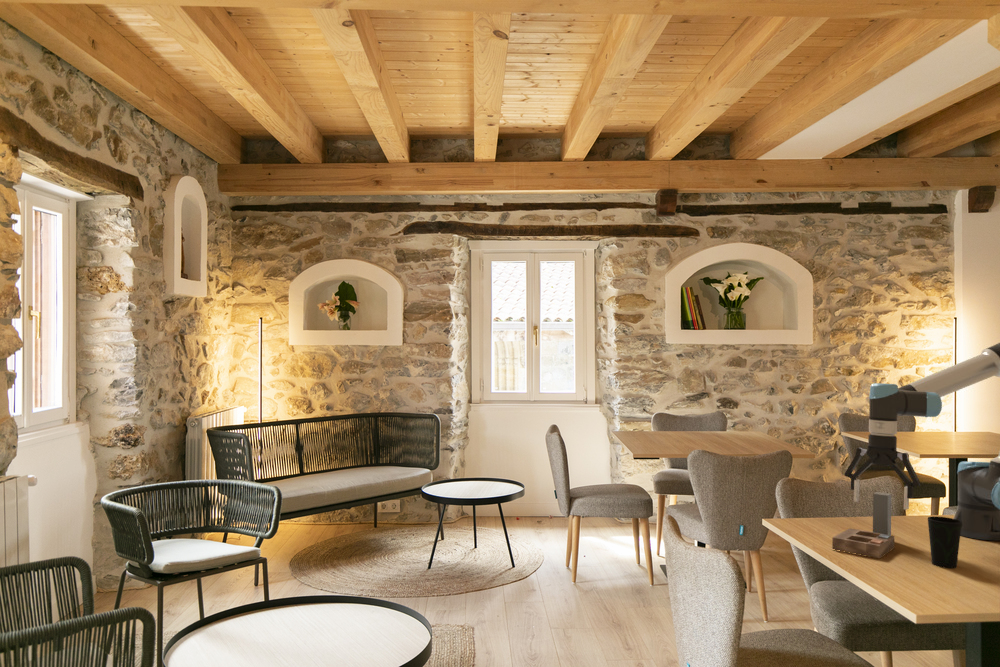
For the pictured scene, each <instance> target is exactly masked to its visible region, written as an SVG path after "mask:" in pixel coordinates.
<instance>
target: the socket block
mask: <svg viewBox="0 0 1000 667" xmlns="http://www.w3.org/2000/svg"><path fill="white" fill-rule="evenodd" d="M831 545H832V546H831V548H832V549H835V550H840V551H839V552H841V551H845V552H844V553H846V552H850V553H849V554H851V553H856V554H861V555H866V556H870V557H869V558H871V557H875V558H874V559H877V558H880V557H881V558H883V557H884V556H885V555H887V554H888V553H890V552H891V551H892V550H894V549H895V535H892V534H891V535H886V534H880V533H875V532H873V531H868V530H863V529H858V528H857V529H856V528H851V527H850V528H848V529H846V530H844V531H842V532H840V533H838V534H836V535H835V536H833V537H832V544H831ZM893 548H894V549H893ZM832 549H831V550H832ZM891 549H892V550H891ZM835 550H834V551H835ZM890 550H891V551H890ZM889 551H890V552H889ZM887 552H888V553H887ZM886 553H887V554H886ZM856 554H855V555H856ZM884 554H885V555H884ZM861 555H860V556H861ZM883 555H884V556H883ZM866 556H865V557H866ZM882 556H883V557H882ZM881 558H880V559H881Z"/></svg>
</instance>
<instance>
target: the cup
mask: <svg viewBox="0 0 1000 667" xmlns="http://www.w3.org/2000/svg"><path fill="white" fill-rule="evenodd" d="M961 524H962V522H961V521H959V520H957V519H954V518H952V517H947V516H929V517H927V527H928V535H929V536H928V537H929V546H930V556H931V557H930V558H931V564H932V565H934V566H935V565H936V567H938V566H939V568H943V567H945V568H944V569H956V567H958V566H957V565H958V559H959V558H958V557H959V550H960V540H961V535H960V533H961Z"/></svg>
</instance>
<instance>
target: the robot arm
mask: <svg viewBox="0 0 1000 667" xmlns="http://www.w3.org/2000/svg"><path fill="white" fill-rule="evenodd" d="M980 353H981V354H979V355H976V356H973V357H971V358H969V359H966V360H964V361H961V362H959V363H956V364H955V365H951V366H948V367H947V368H944V369H941V370H940V371H937V372H935V373H931V374H929V375H927V376H925V377H923V378H920V379H917V380H915V381H912V382H909V383H908V384H905V385H903V386H900V387H899V385H897V383H881V382H880V383H879V382H876V383H875V382H874V383H871V384H870V389H869V395H868V401H869V402H868V403H869V405H868V406H869V410H868V411H869V412H868V413H869V414H868V416H869V418H868V432H869V433H870V434H868V444H867V449H866V448H863V447H857V448H856V452H855V456H854V457H853V459H852V461H851V462H850V463H849V465H848V467H847V469H846V471H845V472H844V476H845V477H847V478H849V479H850V489H851V491H852V490H853V502H854V503H857V502H859V501H860V481H861V480H860V479H858V478H859V477H860V476H861V475H862V474H863V473H864V472H865V471H866V470H867V469H868V468H870V467H871V466H872V465H873V464H874V465H875V466H883V467H888V466H890V468H891V469H893V471H894V472H895V473H896V474H897V475H898V477H899V478H900V479H901V481H902V482H903V483H904V484H905V486H904V487H903V510H906V511H907V510H909V509H910V508H909V507H910V499H913V498H914V487H919V486H920V485H921V481H920V479H919V477H918V475H917V473H916V471H915V470H914V466H912V463H911V462H910V456H909V453H908V452H904V453H903V452H902V453H901V452H899V453H898V451H897V446H898V445H897V444H898V442H897V441H898V439H897V436H896V435H897V434H898V416H905V417H906V416H907V417H921V418H922V417H923V418H934V417H935V418H936V417H938V416H939V415H940V414H941V411H942V409H943V401H942V397H945V396H947V395H950V394H952V393H954V392H957V391H960V390H963V389H966V388H967V387H970V386H971V385H972V386H973V385H975V384H977V383H980V382H983V381H984V380H987V379H990V378H992V377H998V378H1000V342H998V343H996V344H993V345H991V346H989V347H987V348H985V349H983V350H982V351H981V352H980ZM865 455H867V457H868V459H867V460H866V461H865V462H864V463H863V464H862V465H861V466H860V467H859V468H858V469H857V470H856V471H855V472H854V470H855V468H856V467H857V465H858V464H859V462H860V461H861V458H862V457H863V456H865ZM897 458H899V460H901V461H902V463H903V465H904V467H905V469H906V471H907V474H908V475H909V476H908V475H907V474H906V473H905V471H903V469H902V468H901V467H900V466H899V463H898V462H897V461H896V459H897ZM853 472H854V473H853ZM956 474H957V509H956V511H955V514H954V516H953V519H957V520H959V521H961V522H962V524H961V533H960V537H966V538H970V539H976V540H983V541H996V542H998V541H999V542H1000V451H999V453H998V456H996V457H994V458H992V459H990V461H965V460H964V461H960V462H959V463H958V466H957V471H956ZM909 477H910V478H909Z"/></svg>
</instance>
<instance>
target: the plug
mask: <svg viewBox="0 0 1000 667" xmlns="http://www.w3.org/2000/svg"><path fill="white" fill-rule="evenodd" d="M872 532H875V533H880V534H886V535H892V493H886V492H879V491H876V492H873V493H872Z"/></svg>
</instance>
